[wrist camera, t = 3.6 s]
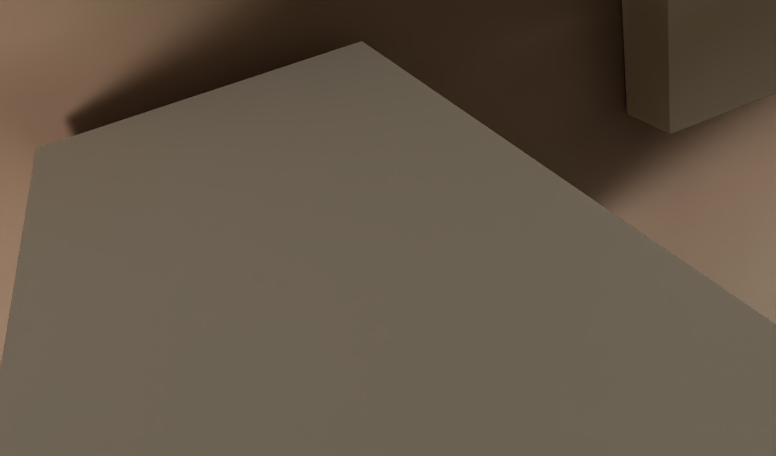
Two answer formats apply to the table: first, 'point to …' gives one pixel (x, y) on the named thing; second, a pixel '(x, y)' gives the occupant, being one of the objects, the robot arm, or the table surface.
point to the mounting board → (696, 58)
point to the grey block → (356, 291)
